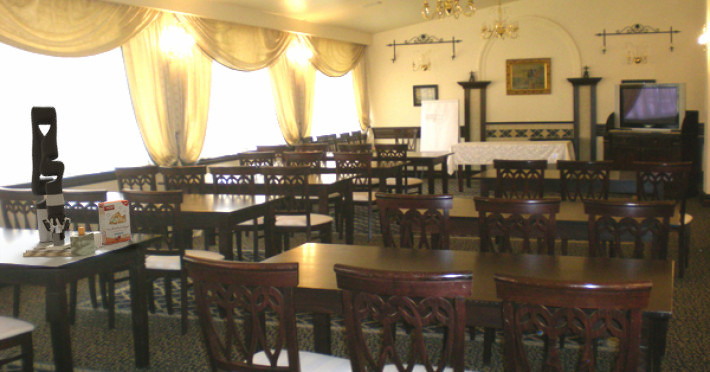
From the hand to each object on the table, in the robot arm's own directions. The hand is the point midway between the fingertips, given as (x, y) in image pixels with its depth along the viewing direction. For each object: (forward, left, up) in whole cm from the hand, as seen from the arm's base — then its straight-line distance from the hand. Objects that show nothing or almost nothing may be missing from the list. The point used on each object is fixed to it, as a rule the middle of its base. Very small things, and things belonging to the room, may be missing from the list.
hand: (58, 239), depth 301 cm
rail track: (0, 0, -7) cm, 7 cm away
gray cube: (0, 0, -4) cm, 4 cm away
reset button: (0, +12, +1) cm, 12 cm away
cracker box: (-26, +15, -7) cm, 31 cm away
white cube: (-16, +9, -7) cm, 19 cm away
